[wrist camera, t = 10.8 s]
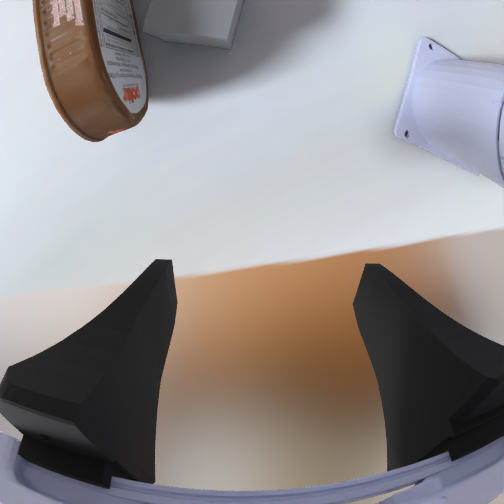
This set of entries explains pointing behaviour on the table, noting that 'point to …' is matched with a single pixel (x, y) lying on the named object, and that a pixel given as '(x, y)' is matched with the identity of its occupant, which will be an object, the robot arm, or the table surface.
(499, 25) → the table surface
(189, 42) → the grey block
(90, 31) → the tin
